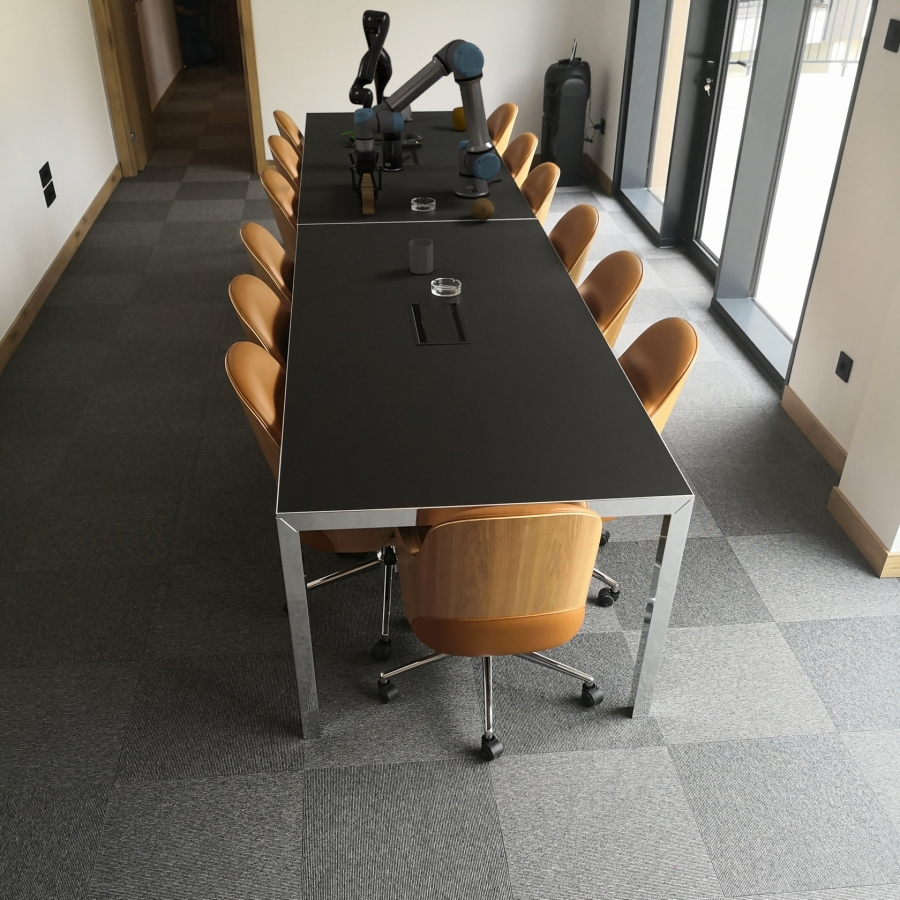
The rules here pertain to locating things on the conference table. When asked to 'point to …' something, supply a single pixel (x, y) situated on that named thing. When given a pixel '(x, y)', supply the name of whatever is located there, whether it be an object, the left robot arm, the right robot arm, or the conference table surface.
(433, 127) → the conference table surface
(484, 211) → the potato
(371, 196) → the post
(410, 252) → the cup
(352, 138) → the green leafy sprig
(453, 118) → the apple
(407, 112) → the toy
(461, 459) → the conference table surface
